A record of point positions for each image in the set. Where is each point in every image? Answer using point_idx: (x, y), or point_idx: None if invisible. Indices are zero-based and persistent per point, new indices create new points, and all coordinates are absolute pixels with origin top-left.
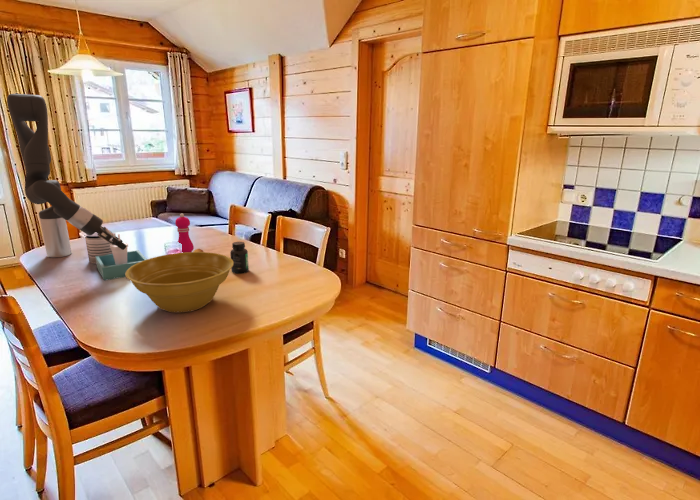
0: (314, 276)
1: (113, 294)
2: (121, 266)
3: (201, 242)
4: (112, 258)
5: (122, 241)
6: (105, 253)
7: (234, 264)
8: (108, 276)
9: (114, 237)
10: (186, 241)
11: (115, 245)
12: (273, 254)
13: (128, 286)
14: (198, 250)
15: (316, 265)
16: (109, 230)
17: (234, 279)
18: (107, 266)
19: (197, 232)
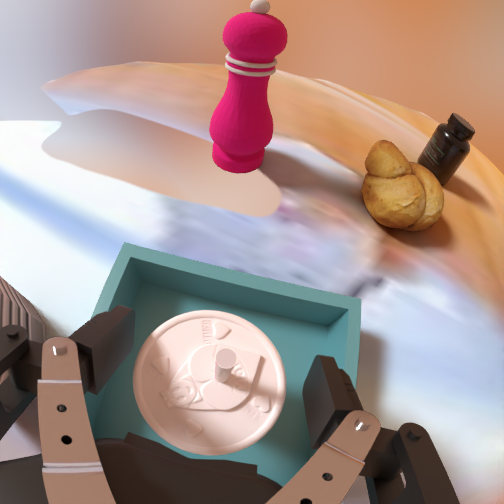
0: (470, 151)
1: (453, 469)
2: None
3: (140, 94)
4: None
5: (134, 311)
6: None
7: (454, 170)
8: None
9: (411, 455)
10: (268, 107)
11: (203, 411)
12: (352, 93)
13: (428, 427)
14: (397, 150)
15: (431, 118)
16: (46, 395)
17: (469, 208)
18: None
19: (71, 84)
